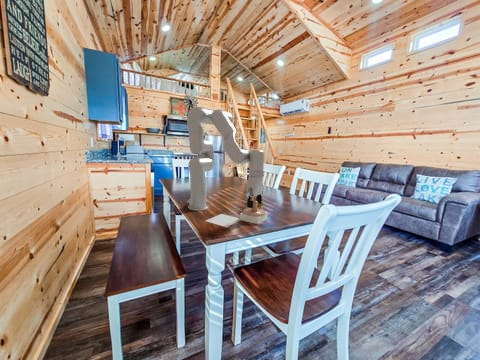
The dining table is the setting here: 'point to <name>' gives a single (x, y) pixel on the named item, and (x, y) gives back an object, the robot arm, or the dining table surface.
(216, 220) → the mat
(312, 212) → the dining table surface
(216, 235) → the dining table surface
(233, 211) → the dining table surface
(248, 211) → the lid
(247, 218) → the dish
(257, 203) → the cheeseburger
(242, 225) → the dining table surface
